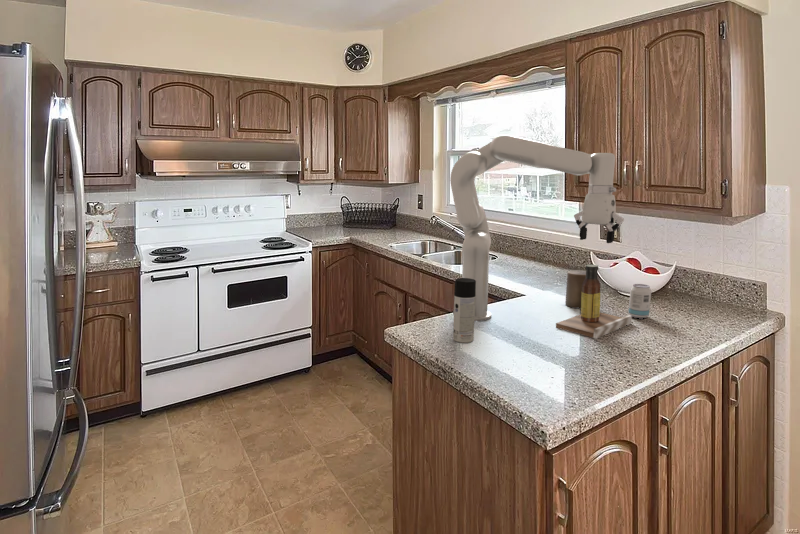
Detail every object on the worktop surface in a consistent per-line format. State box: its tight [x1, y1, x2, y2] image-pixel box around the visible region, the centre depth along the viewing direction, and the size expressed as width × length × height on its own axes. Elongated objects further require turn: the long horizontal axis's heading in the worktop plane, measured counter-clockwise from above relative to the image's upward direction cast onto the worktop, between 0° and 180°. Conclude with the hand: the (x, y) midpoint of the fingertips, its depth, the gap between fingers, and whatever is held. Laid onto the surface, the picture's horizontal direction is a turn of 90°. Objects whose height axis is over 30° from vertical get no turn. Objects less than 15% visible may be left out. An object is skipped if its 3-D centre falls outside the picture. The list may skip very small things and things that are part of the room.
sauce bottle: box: [580, 264, 601, 322], centre depth 175 cm, size 6×6×20 cm
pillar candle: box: [564, 269, 586, 309], centre depth 199 cm, size 10×10×15 cm
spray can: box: [452, 277, 476, 344], centre depth 159 cm, size 7×7×20 cm
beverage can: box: [627, 283, 652, 320], centre depth 184 cm, size 7×7×12 cm
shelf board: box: [555, 311, 633, 339], centre depth 175 cm, size 24×15×3 cm, turn 130°
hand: (596, 241), depth 171 cm, fingers open, 9 cm apart
